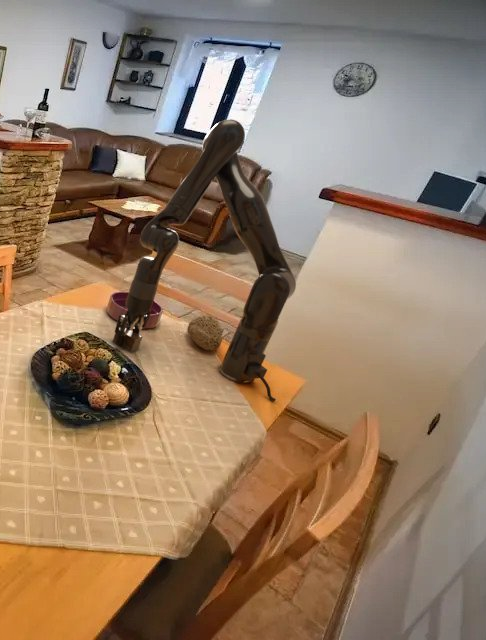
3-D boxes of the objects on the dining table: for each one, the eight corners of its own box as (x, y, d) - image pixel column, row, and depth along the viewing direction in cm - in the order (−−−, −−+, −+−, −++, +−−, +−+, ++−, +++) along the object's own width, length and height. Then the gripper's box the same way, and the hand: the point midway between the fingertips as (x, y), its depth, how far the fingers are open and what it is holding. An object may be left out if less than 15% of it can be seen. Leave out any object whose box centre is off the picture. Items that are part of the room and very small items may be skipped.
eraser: (138, 349, 153) (142, 336, 151) (130, 352, 150) (135, 339, 148) (119, 339, 157) (123, 326, 155) (112, 341, 154) (116, 329, 152)
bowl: (168, 329, 170) (173, 315, 168) (122, 329, 163) (127, 314, 161) (139, 305, 185) (144, 292, 182) (97, 305, 178) (101, 291, 176)
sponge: (191, 328, 178) (174, 332, 162) (204, 310, 175) (188, 312, 159) (224, 350, 173) (209, 356, 156) (237, 331, 170) (224, 336, 153)
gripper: (144, 285, 153) (129, 332, 160) (117, 292, 143) (102, 342, 151) (165, 295, 148) (148, 343, 156) (138, 302, 139) (122, 354, 146)
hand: (126, 342), depth 153 cm, fingers open, 7 cm apart
